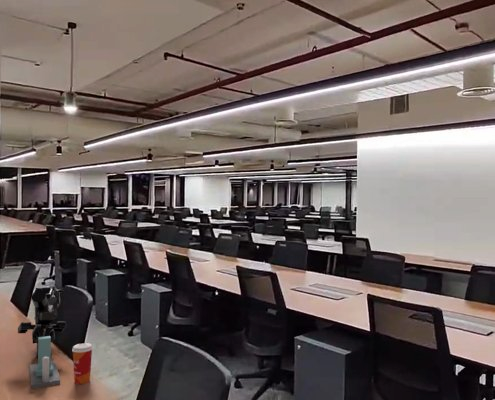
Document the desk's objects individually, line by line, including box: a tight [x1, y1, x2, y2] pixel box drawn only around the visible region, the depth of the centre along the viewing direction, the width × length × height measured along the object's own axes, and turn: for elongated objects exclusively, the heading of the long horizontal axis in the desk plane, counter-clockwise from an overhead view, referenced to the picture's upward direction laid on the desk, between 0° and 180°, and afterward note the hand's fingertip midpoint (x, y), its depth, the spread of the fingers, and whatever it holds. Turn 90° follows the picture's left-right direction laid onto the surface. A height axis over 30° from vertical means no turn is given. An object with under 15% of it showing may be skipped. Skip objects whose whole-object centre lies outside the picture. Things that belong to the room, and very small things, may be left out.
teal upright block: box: [36, 336, 53, 377], centre depth 176 cm, size 9×6×14 cm, turn 27°
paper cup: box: [71, 342, 93, 385], centre depth 174 cm, size 8×8×14 cm
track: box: [29, 356, 61, 389], centre depth 179 cm, size 23×10×10 cm, turn 27°
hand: (43, 345), depth 189 cm, fingers closed
